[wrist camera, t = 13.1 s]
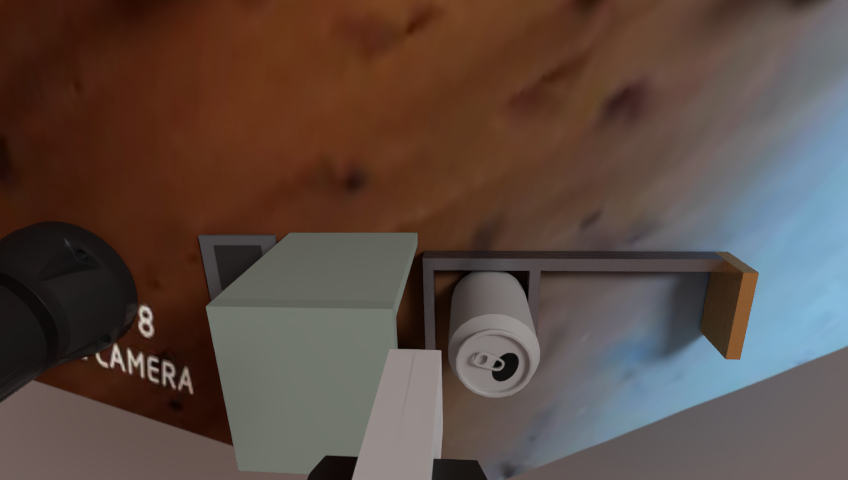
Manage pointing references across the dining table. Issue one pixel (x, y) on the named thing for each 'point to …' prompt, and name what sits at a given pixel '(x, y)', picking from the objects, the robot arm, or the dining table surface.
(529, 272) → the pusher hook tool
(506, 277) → the can
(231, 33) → the dining table surface
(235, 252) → the pit board
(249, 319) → the tunnel
